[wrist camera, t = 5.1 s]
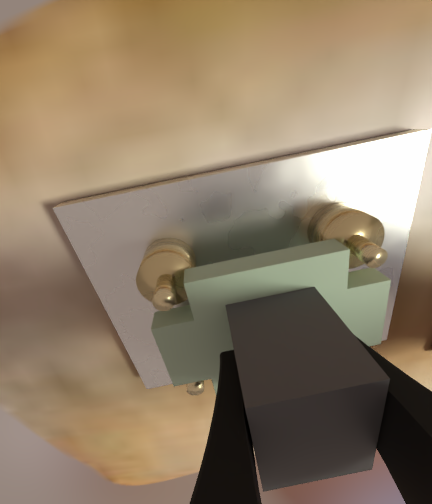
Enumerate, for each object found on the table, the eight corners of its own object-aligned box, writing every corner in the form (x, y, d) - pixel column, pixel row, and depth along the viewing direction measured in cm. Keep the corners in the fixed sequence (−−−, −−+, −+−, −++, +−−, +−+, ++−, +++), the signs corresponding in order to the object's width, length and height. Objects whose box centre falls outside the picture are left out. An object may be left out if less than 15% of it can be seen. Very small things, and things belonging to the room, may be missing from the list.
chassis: (413, 129, 12) (524, 129, 8) (377, 329, 19) (428, 384, 15) (62, 202, 12) (-1, 238, 8) (148, 376, 19) (137, 444, 15)
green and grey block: (377, 229, 11) (539, 309, 6) (362, 352, 14) (456, 470, 9) (141, 278, 11) (96, 400, 6) (183, 389, 14) (178, 526, 9)
